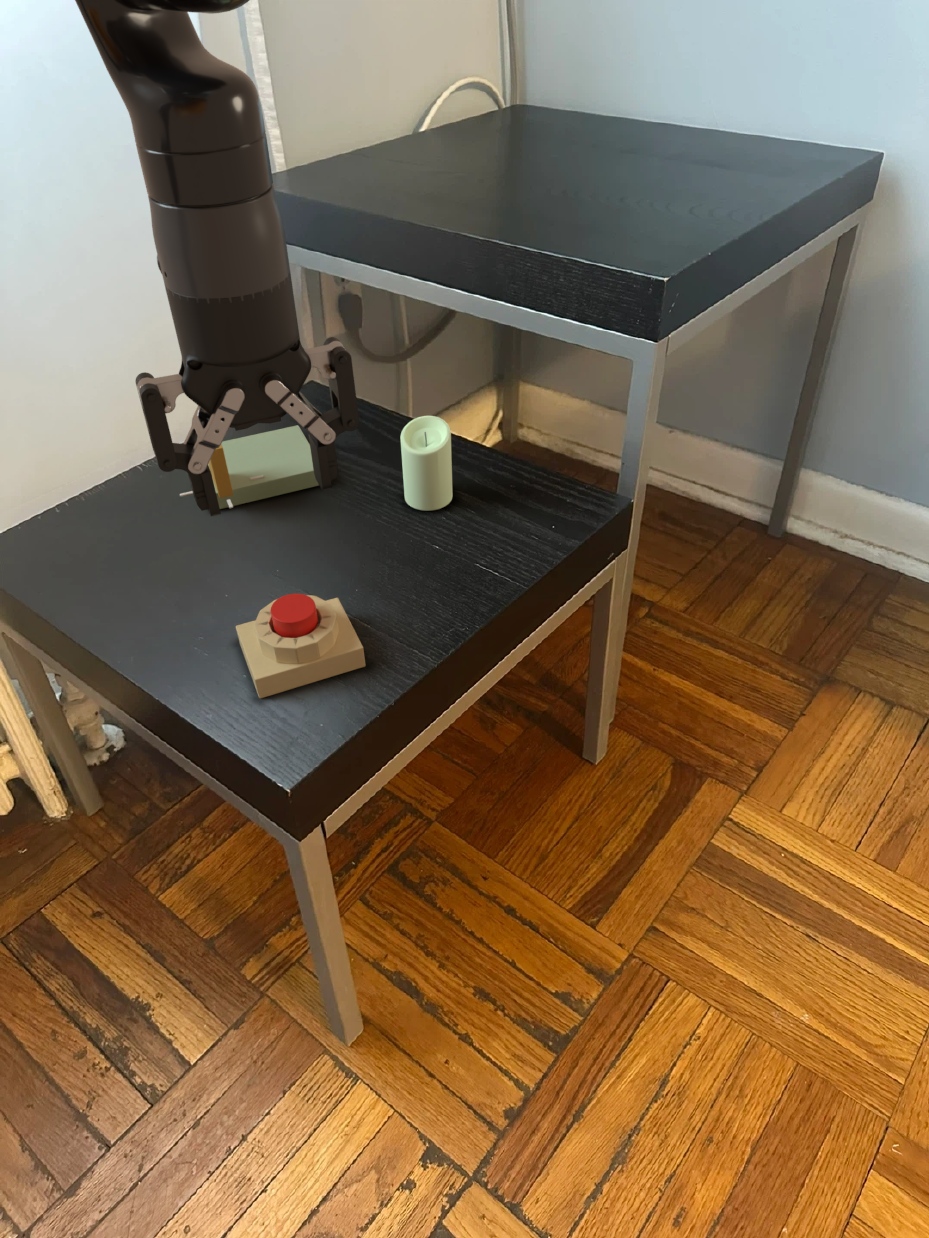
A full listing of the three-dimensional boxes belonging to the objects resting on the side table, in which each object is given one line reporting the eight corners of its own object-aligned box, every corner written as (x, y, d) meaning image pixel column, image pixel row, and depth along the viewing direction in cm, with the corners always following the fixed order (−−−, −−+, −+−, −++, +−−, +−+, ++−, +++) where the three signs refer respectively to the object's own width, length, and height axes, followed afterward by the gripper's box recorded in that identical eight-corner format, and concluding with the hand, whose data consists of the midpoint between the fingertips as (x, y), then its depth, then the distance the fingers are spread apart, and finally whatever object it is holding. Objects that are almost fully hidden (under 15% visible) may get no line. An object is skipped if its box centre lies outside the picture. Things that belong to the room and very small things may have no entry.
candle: (444, 514, 89) (442, 443, 84) (398, 507, 90) (392, 437, 85) (458, 488, 93) (456, 418, 88) (413, 481, 94) (409, 412, 89)
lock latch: (233, 495, 89) (222, 445, 85) (219, 498, 89) (207, 448, 85) (224, 473, 92) (213, 424, 88) (211, 476, 92) (199, 427, 88)
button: (280, 643, 70) (276, 627, 69) (269, 616, 73) (265, 600, 72) (323, 631, 71) (320, 614, 70) (311, 604, 74) (308, 588, 73)
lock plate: (192, 535, 87) (187, 517, 86) (169, 469, 97) (165, 452, 95) (335, 500, 92) (332, 482, 90) (300, 440, 101) (298, 423, 99)
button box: (259, 699, 71) (250, 663, 68) (240, 644, 75) (231, 609, 73) (365, 666, 73) (361, 631, 71) (340, 615, 78) (335, 580, 75)
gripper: (112, 312, 48) (180, 550, 59) (359, 270, 53) (380, 499, 63) (96, 267, 54) (161, 493, 64) (322, 232, 58) (347, 450, 69)
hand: (269, 496), depth 64 cm, fingers open, 7 cm apart
